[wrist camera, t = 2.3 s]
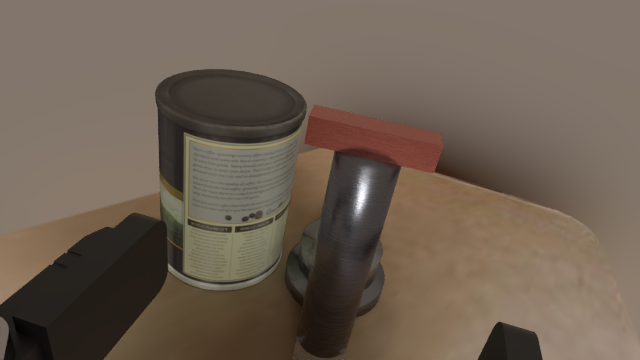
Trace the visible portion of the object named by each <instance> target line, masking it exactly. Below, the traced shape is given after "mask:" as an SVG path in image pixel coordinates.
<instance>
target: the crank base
mask: <svg viewBox="0 0 640 360" xmlns="http://www.w3.org/2000/svg"><path fill="white" fill-rule="evenodd" d="M300 246H301V242H300V243H299V244H297V245H296V246H295V247H294V248H293V249H292V251H291V252H290V254H289V257H288V262H287V268H286V273H285V281H286V285H287V288H288V290H289V292H290V294H291V295H292V297H293V298H294V299H295V300H296V301H297V302H298V303H299V304H300V305H301V306H303V301H304V296H305V292H306V287H307V282H308V280H307V279H306V278H305V277H304V276H303V274H302V273H301V271H300V269H299V266H298V256H299V251H300ZM383 285H384V271H383V268H382V266H381V264H380V263H379V267H378V270H377V273H376V276H375V279H374V281H373V283H372V284H371V285H370V286H369V287H368V288H367V289H365V290H364V292H363V295H362V298H361V302H360V305H359V308H358V312H357V315H356V317H359V316H361V315H364V314H365V313H367V312H369V311H370V310H371V309H372V308H373V307H374V306H375V305H376V303H377V302H378V299H379V297H380V294H381V291H382V288H383Z"/></svg>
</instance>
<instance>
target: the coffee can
mask: <svg viewBox="0 0 640 360" xmlns="http://www.w3.org/2000/svg"><path fill="white" fill-rule="evenodd" d="M155 96H156V104H157V107H158V135H159V168H160V169H159V170H160V212H161V220H162V221H164V222H165V223H166V226H167V252H168V270H169V271H170V272H171V273H172V274H173V275H174V276H175V277H176V278H178V279H179V280H181V281H183V282H184V283H186V284H188V285H191V286H194V287H197V288H201V289H206V290H214V291H229V290H238V289H241V288H245V287H249V286H252V285H255V284H257V283H259V282H260V281H262V280H264V279H265V278H267V277H268V276H269V275H270V274H271V273H272V272H273V271H275V269H276V268H277V266H278V264H279V263H280V260H281V257H282V245H283V239H284V233H285V226H286V220H287V214H288V208H289V202H290V196H291V190H292V183H293V177H294V171H295V165H296V159H297V151H298V146H299V139H300V133H301V127H302V121H303V120H304V118H305V114H306V109H307V104H306V102H305V100H304V98H303V97H302V95H301V94H299V93H298V92H297V91H296V90H295V89H293V88H292V87H290V86H288V85H286V84H284V83H282V82H280V81H278V80H275V79H272V78H269V77H266V76H263V75H259V74H253V73H249V72H244V71H235V70H224V69H206V70H195V71H188V72H183V73H179V74H176V75H173V76H171V77H168V78H166V79H165V80H163V81H162V82H161V83H160V84H159V85H158V86H157V89H156V92H155Z"/></svg>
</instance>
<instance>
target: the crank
mask: <svg viewBox="0 0 640 360" xmlns="http://www.w3.org/2000/svg"><path fill="white" fill-rule="evenodd" d="M304 144H308V145H312V146H317V147H321V148H325V149H329V150H334V151H335V152H334V157H333V162H332V167H331V171H330V176H329V181H328V186H327V191H326V196H325V200H324V205H323V210H322V215H321V219H318V220H315V221H313V222H312V223H310V224H309V225H308V226H307V227H306V228H305V229H304V232H303V235H302V240H301V246H300V251H299V256H298V266H299V269H300V271H301V273H302V274H303V276H304V277H305V278H306V279H307V280H308V282H307V287H306V292H305V296H304V301H303V306H302V311H301V316H300V320H299V325H298V330H297V340H296V344H295V348H294V353H293V358H292V360H343V358H344V355H345V349H346V347H347V345H348V341H349V338H350V335H351V332H352V328H353V325H354V322H355V318H356V315H357V312H358V308H359V305H360V302H361V298H362V295H363V292H364V290H365V289H367V288H368V287H369V286H370V285H371V284H372V283H373V281H374V279H375V276H376V273H377V270H378V267H379V263H380V260H381V257H382V253H383V248H382V244H381V241H380V240H379V239H380V235H381V232H382V229H383V225H384V222H385V219H386V216H387V212H388V209H389V206H390V202H391V199H392V196H393V192H394V189H395V186H396V182H397V179H398V176H399V172H400V169H401V166H403V167H407V168H412V169H416V170H420V171H425V172H429V173H433V174H434V171H435V167H436V165H437V162H438V159H439V156H440V154H441V151H442V148H443V142H442V136H441V133H437V132H433V131H429V130H424V129H420V128H416V127H411V126H407V125H402V124H398V123H393V122H389V121H384V120H380V119H375V118H371V117H367V116H362V115H357V114H353V113H349V112H344V111H340V110H335V109H331V108H327V107H322V106H318V105H314V107H313V109H312V111H311V113H310V115H309V119H308V125H307V131H306V137H305V143H304Z"/></svg>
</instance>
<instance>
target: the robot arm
mask: <svg viewBox="0 0 640 360" xmlns="http://www.w3.org/2000/svg"><path fill="white" fill-rule="evenodd" d="M167 272H168V252H167V226H166V223H165V222H164V221H162V220H158V219H155V218H151V217H148V216H145V215H141V214H138V213H132V214H130V215H129V216H128V217H126V218H125V219H124V220H123V221H122V222H121V223H119V224H118V225H117V226H116V227H115V228H110V227H105V228H103V229H101V230H98V231H96V232H94V233H92V234H89V235H87V236H85V237H84V238H82V239H81V240H80V241H79V242H77V243H76V244H75V245H74V246H72V247H71V248H70V249H69V250H68V252H67V253H64V254H63V255H61V256H60V257H59V258H58V259H56V260H55V261H54V263H53V265H49V266H48V267H47V268H45V269H44V270H43V271H42V272H40V273H39V274H38V275H37V276H35V277H34V278H33V279H32V280H30V281H29V282H28V283H27V284H26V285H24V286H23V287H22V288H21V289H19V290H18V291H17V292H16V293H14V294H13V295H12V296H11V297H9V298H8V299H7V300H6V301H5V302H3V303H2V304H1V305H0V360H103V359H104V358H105V357H106V355H107V354H108V353H109V352H110V351H111V349H112V348H113V347H114V346H115V345H116V343H117V342H118V341H119V340H120V339H121V337H122V336H123V335H124V334H125V333H126V331H127V330H128V329H129V328H130V326H131V325H132V324H133V323H134V322H135V320H136V319H137V318H138V317H139V316H140V314H141V313H142V312H143V311H144V310H145V308H146V307H147V306H148V305H149V304H150V302H151V301H152V300H153V299H154V298H155V296H156V295H157V294H158V293H159V291H160V290H161V288H162V286H163V284H164V282H165V279H166V276H167ZM478 360H542V355H541V350H540V345H539V341H538V337H537V335H536V333H535V332H532V331H529V330H526V329H522V328H519V327H515V326H512V325H509V324H505V323H502V322H498V323H497V324H496V325H495V326H494V328H493V330H492V332H491V334H490V336H489V338H488V340H487V342H486V344H485V346H484V348H483V350H482V352H481V354H480V356H479V358H478Z"/></svg>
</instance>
